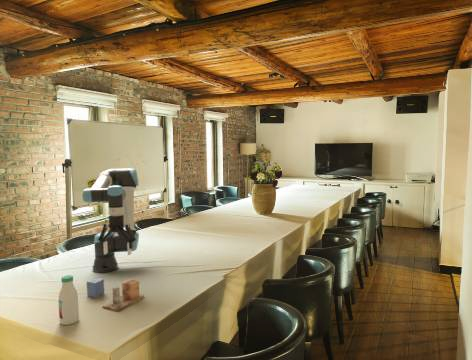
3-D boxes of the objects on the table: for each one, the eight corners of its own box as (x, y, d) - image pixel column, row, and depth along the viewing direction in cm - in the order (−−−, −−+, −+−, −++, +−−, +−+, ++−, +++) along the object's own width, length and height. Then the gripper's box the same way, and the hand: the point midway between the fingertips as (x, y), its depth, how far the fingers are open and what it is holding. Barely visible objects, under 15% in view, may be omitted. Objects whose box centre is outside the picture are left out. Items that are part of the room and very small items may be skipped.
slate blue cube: (87, 296, 183) (86, 281, 182) (96, 292, 188) (95, 277, 187) (95, 297, 180) (94, 283, 180) (104, 293, 186) (103, 279, 185)
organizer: (102, 307, 169) (101, 289, 168) (129, 294, 185) (128, 277, 184) (118, 311, 164) (117, 292, 164) (144, 297, 181) (143, 279, 180)
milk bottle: (81, 316, 160) (79, 273, 158) (74, 325, 152) (72, 279, 150) (64, 317, 159) (62, 274, 158) (56, 325, 152) (54, 280, 150)
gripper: (90, 215, 187) (92, 255, 188) (135, 216, 183) (136, 256, 184) (98, 213, 194) (99, 251, 195) (141, 214, 190) (142, 252, 192)
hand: (117, 254), depth 190 cm, fingers open, 13 cm apart
